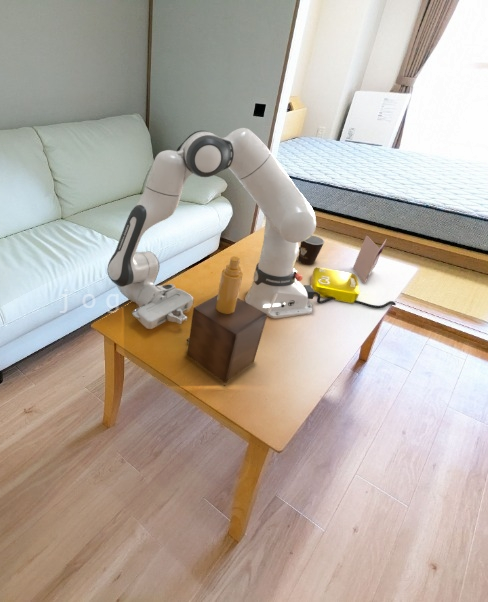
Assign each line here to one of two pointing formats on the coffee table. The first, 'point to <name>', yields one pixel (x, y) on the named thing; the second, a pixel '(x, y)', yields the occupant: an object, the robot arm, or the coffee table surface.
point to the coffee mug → (310, 250)
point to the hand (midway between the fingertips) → (183, 321)
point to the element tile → (335, 284)
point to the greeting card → (367, 259)
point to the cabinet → (225, 337)
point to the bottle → (229, 287)
